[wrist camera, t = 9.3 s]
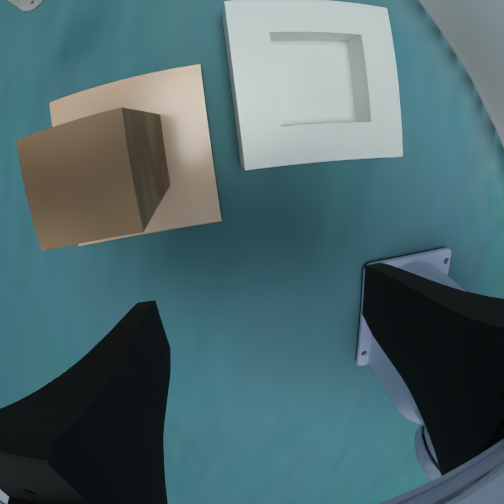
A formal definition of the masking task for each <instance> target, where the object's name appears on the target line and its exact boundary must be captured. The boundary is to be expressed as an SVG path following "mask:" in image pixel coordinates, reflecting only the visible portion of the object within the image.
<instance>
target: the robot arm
mask: <svg viewBox="0 0 504 504" xmlns="http://www.w3.org/2000/svg"><path fill="white" fill-rule="evenodd" d="M445 258H446V259H445ZM450 259H451V250H450V249H448V248H447V247H445V248H440V249H436V250H431V251H426V252H421V253H416V254H411V255H406V256H401V257H396V258H391V259H386V260H381V261H376V262H371V263H368V264H367V265H365V267H364V270H363V287H362V302H361V316H360V328H359V338H358V348H357V357H356V363H357V364H358V365H359V366H363V365H367V364H369V365H370V367H371V368H372V370H373V372H374V373H375V375H376V377H377V378H378V380H379V382H380V383H381V385H382V387H383V388H384V390H385V392H386V393H387V395H388V397H389V398H390V400H391V402H392V403H393V405H394V407H395V408H396V409H397V411H398V412H399V413H400V414H401V415H402V416H404V417H405V418H407V419H408V420H410V421H413V422H415V423H419V424H421V425H420V426H419V427H418V429H417V431H416V433H415V447H416V455H417V458H418V461H419V463H420V465H421V467H422V469H423V471H424V472H425V474H426V475H427V476H428V478H429V479H430V480H431V482H429V483H427V484H424V485H422V486H420V487H418V488H416V489H414V490H411V491H409V492H407V493H405V494H402V495H400V496H397V497H395V498H392V499H390V500H387V501H385V502H382V503H380V504H445V503H446V504H504V299H500V298H494V297H488V296H483V295H478V294H474V293H470V292H467V291H466V290H465V289H464V288H462V287H461V286H460V285H459V284H457V283H456V282H455V281H454V280H452V279H451V278H450V277H448V271H449V265H450ZM444 260H445V261H444ZM363 351H364V352H363ZM169 380H170V346H169V343H168V340H167V337H166V334H165V331H164V328H163V324H162V321H161V318H160V315H159V311H158V308H157V305H156V302H155V301H147V302H140V303H137V304H136V305H135V306H134V307H133V308H132V309H131V310H130V311H129V312H128V313H127V314H126V315H125V316H124V317H123V318H122V319H121V320H120V321H119V323H118V324H117V325H116V326H115V327H114V328H113V329H112V330H111V331H110V332H109V333H108V334H107V335H106V336H105V337H104V338H103V339H102V340H101V341H100V342H99V343H98V344H97V345H96V346H95V347H94V348H93V349H92V350H91V351H90V352H89V353H88V354H86V355H85V356H84V357H83V358H82V359H81V360H80V361H78V362H77V363H76V364H75V365H73V366H72V367H71V368H70V369H68V370H67V371H66V372H64V373H63V374H62V375H60V376H59V377H57V378H56V379H54V380H53V381H51V382H50V383H48V384H47V385H45V386H44V387H42V388H41V389H39V390H37V391H36V392H34V393H32V394H30V395H29V396H27V397H25V398H23V399H21V400H19V401H17V402H15V403H13V404H11V405H9V406H6V407H4V408H1V409H0V489H1V490H2V491H3V492H4V493H6V494H7V495H8V496H9V501H8V504H167V495H166V486H165V472H164V450H163V433H164V421H165V412H166V404H167V396H168V388H169ZM456 497H457V498H456ZM454 498H455V499H454ZM452 499H453V500H452ZM450 500H451V501H450ZM449 501H450V502H449ZM447 502H448V503H447ZM0 504H5V503H3V502H2V501H0Z"/></svg>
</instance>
